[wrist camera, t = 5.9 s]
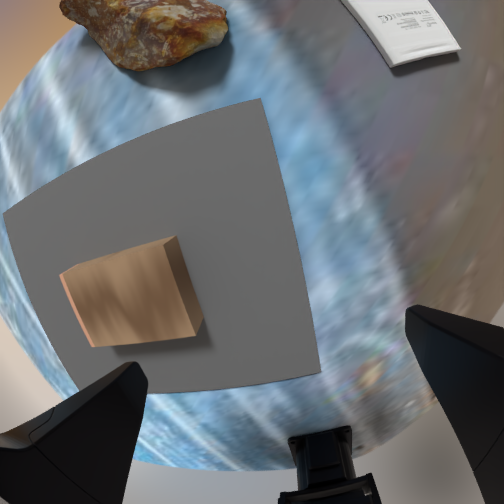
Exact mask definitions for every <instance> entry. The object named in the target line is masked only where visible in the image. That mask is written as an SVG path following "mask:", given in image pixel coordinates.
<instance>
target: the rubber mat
mask: <svg viewBox="0 0 504 504" xmlns="http://www.w3.org/2000/svg"><path fill="white" fill-rule="evenodd" d="M3 217H4V221H5V225H6V229H7V233H8V237H9V241H10V244H11V248H12V251H13V254H14V257H15V260H16V263H17V266H18V269H19V272H20V275H21V278H22V280H23V283H24V286H25V288H26V291H27V293H28V296H29V298H30V301H31V303H32V305H33V308H34V310H35V312H36V314H37V316H38V319H39V321H40V323H41V325H42V327H43V329H44V331H45V333H46V335H47V337H48V339H49V341H50V343H51V345H52V346H53V348H54V350H55V352H56V354H57V355H58V357H59V359H60V361H61V362H62V364H63V366H64V367H65V369H66V371H67V372H68V374H69V376H70V377H71V379H72V380H73V382H74V383H75V385H76V386H77V388H78V389H79V391H81V390H82V389H84V388H86V387H87V386H89V385H90V384H92V383H94V382H95V381H97V380H98V379H100V378H102V377H103V376H105V375H106V374H108V373H110V372H111V371H113V370H114V369H116V368H117V367H119V366H121V365H122V364H124V363H125V362H130V361H136V362H138V363H139V365H140V366H141V368H142V370H143V372H144V373H145V375H146V377H147V379H148V391H147V393H173V392H191V391H204V390H215V389H225V388H233V387H241V386H249V385H256V384H262V383H268V382H274V381H280V380H285V379H290V378H296V377H300V376H305V375H310V374H314V373H319V372H321V368H320V361H319V355H318V349H317V343H316V337H315V331H314V326H313V320H312V315H311V309H310V304H309V299H308V293H307V288H306V283H305V278H304V273H303V268H302V263H301V259H300V254H299V249H298V245H297V240H296V235H295V231H294V226H293V222H292V218H291V213H290V209H289V205H288V200H287V196H286V192H285V188H284V184H283V180H282V176H281V172H280V168H279V164H278V160H277V156H276V152H275V149H274V145H273V141H272V137H271V134H270V130H269V126H268V123H267V119H266V116H265V112H264V108H263V105H262V102H261V98H258V99H254V100H250V101H246V102H242V103H238V104H234V105H230V106H227V107H223V108H220V109H216V110H213V111H209V112H206V113H203V114H200V115H197V116H194V117H191V118H188V119H185V120H182V121H179V122H176V123H173V124H170V125H168V126H165V127H162V128H160V129H157V130H155V131H152V132H150V133H147V134H145V135H142V136H140V137H137V138H135V139H133V140H130V141H128V142H126V143H124V144H121V145H119V146H117V147H115V148H113V149H110V150H108V151H106V152H104V153H102V154H100V155H98V156H96V157H94V158H92V159H90V160H88V161H86V162H84V163H82V164H81V165H79V166H77V167H75V168H73V169H71V170H70V171H68V172H66V173H64V174H62V175H61V176H59V177H57V178H56V179H54V180H52V181H51V182H49V183H47V184H46V185H44V186H42V187H41V188H39V189H38V190H36V191H35V192H33V193H32V194H30V195H29V196H27V197H26V198H24V199H23V200H21V201H20V202H18V203H17V204H15V205H14V206H13V207H11V208H10V209H8V210H7V211H6V212H4V213H3ZM175 235H177V239H178V242H179V245H180V248H181V251H182V255H183V258H184V261H185V264H186V267H187V270H188V273H189V276H190V279H191V282H192V285H193V288H194V291H195V293H196V296H197V299H198V302H199V305H200V308H201V310H202V313H203V316H204V318H203V320H202V322H201V325H200V327H199V330H198V332H197V335H196V336H191V337H184V338H177V339H169V340H161V341H153V342H144V343H135V344H125V345H114V346H101V347H91V345H90V343H89V341H88V339H87V337H86V335H85V333H84V331H83V329H82V327H81V325H80V323H79V321H78V319H77V317H76V314H75V312H74V310H73V308H72V306H71V303H70V301H69V299H68V296H67V294H66V291H65V289H64V286H63V284H62V281H61V279H60V276H59V275H60V274H62V273H63V272H65V271H67V270H68V269H70V268H72V267H74V266H75V265H77V264H80V263H83V262H86V261H90V260H93V259H96V258H99V257H103V256H106V255H109V254H112V253H116V252H119V251H123V250H126V249H129V248H133V247H136V246H140V245H143V244H147V243H150V242H154V241H157V240H161V239H164V238H168V237H172V236H175Z"/></svg>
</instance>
